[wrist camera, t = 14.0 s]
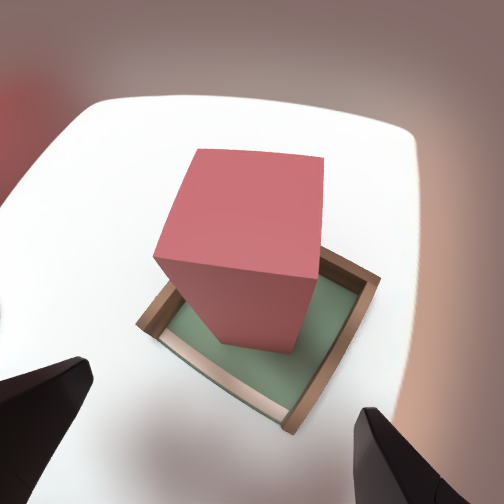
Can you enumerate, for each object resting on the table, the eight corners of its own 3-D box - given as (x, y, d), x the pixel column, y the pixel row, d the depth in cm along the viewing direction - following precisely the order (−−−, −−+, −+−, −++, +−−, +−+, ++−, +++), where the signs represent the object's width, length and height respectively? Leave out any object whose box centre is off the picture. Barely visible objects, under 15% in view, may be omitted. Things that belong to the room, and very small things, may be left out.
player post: (290, 354, 19) (317, 279, 8) (221, 343, 20) (152, 256, 9) (299, 289, 22) (324, 157, 10) (234, 281, 22) (197, 148, 11)
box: (290, 430, 17) (293, 435, 14) (151, 334, 21) (135, 324, 18) (369, 293, 21) (381, 277, 19) (238, 224, 25) (234, 202, 23)
